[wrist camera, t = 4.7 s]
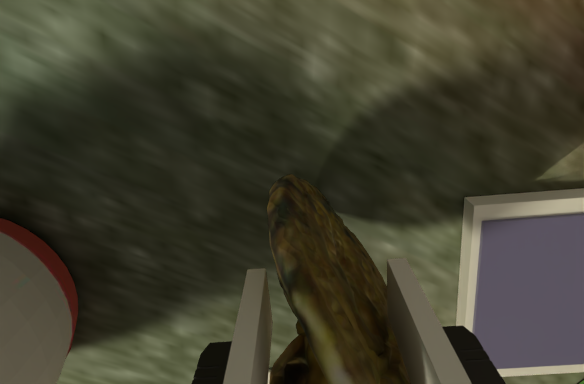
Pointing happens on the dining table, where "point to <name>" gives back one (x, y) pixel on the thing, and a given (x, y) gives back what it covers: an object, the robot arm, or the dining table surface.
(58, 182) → the dining table surface
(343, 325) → the brown mottled tapered part
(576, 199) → the ink pad
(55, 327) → the citrus juicer
